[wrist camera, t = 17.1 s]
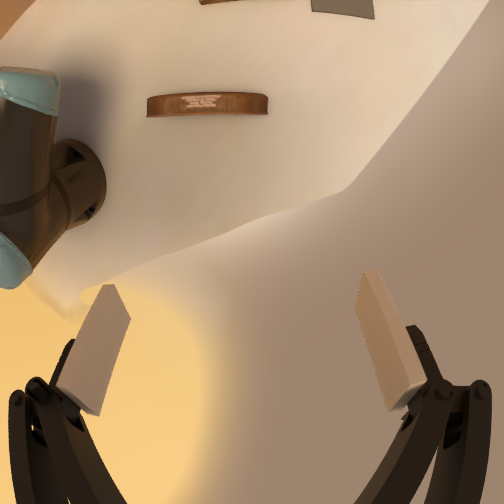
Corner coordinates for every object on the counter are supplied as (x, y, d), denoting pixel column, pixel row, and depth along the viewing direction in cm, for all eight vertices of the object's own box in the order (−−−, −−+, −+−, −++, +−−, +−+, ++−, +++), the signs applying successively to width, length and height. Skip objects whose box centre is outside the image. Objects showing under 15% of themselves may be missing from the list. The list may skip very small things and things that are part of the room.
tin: (158, 114, 34) (136, 124, 27) (157, 93, 32) (135, 97, 25) (265, 113, 34) (270, 121, 28) (267, 91, 33) (271, 93, 26)
